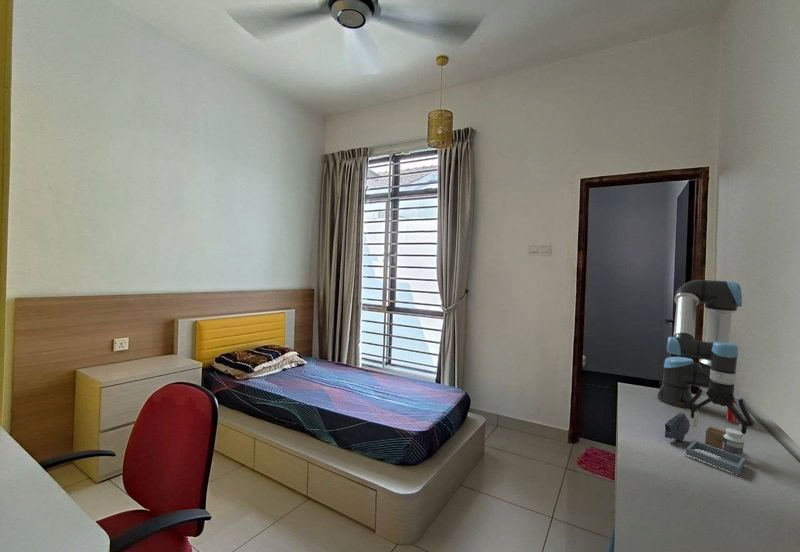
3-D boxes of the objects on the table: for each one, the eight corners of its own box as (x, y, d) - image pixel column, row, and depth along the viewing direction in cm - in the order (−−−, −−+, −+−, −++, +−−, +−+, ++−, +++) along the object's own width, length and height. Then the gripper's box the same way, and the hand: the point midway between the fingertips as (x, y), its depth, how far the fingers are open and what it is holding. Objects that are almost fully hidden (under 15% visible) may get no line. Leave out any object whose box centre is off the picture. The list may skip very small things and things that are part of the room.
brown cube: (708, 440, 148) (710, 425, 147) (725, 445, 144) (726, 431, 143) (705, 444, 144) (706, 429, 144) (721, 450, 140) (722, 435, 140)
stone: (679, 447, 140) (682, 423, 140) (661, 441, 145) (663, 417, 144) (689, 437, 149) (691, 414, 148) (671, 431, 154) (673, 408, 153)
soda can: (731, 419, 169) (733, 394, 168) (745, 424, 164) (748, 399, 163) (723, 420, 167) (726, 395, 166) (737, 425, 162) (740, 400, 161)
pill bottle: (722, 450, 140) (724, 425, 139) (742, 457, 136) (745, 431, 135) (720, 455, 136) (723, 430, 135) (741, 462, 132) (744, 436, 131)
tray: (693, 447, 141) (694, 440, 141) (744, 466, 129) (745, 458, 129) (685, 456, 134) (686, 448, 134) (738, 476, 123) (739, 467, 123)
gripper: (680, 373, 150) (675, 423, 151) (764, 393, 130) (758, 450, 131) (685, 371, 154) (681, 419, 156) (767, 390, 135) (761, 444, 136)
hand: (716, 433), depth 143 cm, fingers open, 13 cm apart
